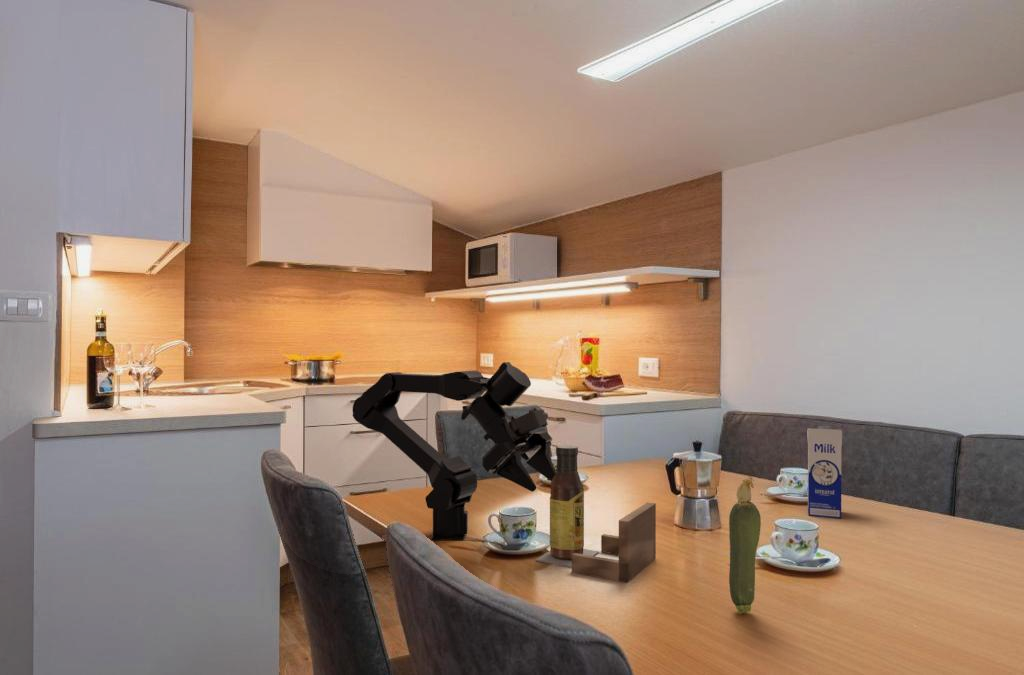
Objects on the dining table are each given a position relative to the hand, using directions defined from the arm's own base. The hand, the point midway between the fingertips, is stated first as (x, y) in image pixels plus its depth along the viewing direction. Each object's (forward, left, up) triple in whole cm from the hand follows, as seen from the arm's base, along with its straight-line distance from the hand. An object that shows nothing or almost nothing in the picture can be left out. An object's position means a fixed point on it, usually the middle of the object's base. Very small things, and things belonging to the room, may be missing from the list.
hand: (546, 485), depth 129 cm
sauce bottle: (+4, -2, -12) cm, 13 cm away
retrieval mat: (+4, -2, -13) cm, 13 cm away
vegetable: (+28, -27, -13) cm, 41 cm away
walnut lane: (+12, -7, -13) cm, 19 cm away
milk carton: (+65, +30, -13) cm, 73 cm away
